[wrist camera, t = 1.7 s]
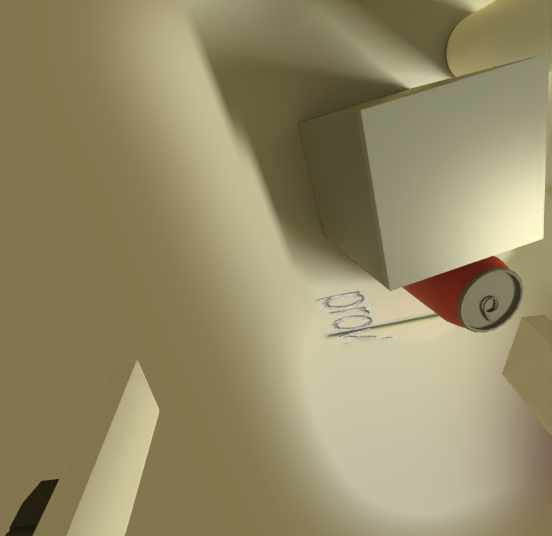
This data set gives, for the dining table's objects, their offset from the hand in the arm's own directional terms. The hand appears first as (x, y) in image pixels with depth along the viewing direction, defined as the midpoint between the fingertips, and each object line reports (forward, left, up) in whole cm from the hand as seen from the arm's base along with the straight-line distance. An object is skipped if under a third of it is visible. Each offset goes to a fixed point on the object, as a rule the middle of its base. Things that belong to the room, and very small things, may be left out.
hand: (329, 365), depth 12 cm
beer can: (+9, +15, -23) cm, 29 cm away
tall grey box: (-2, +12, -23) cm, 26 cm away
